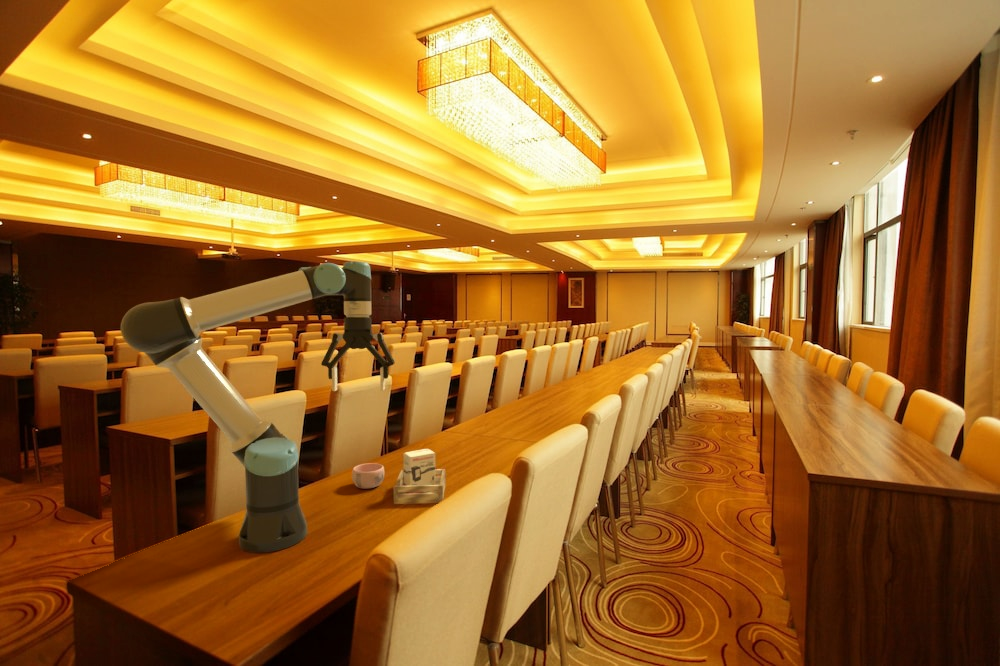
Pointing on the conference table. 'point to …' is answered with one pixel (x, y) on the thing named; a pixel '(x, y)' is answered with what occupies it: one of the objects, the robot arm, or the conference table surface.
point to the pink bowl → (368, 475)
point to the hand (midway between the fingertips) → (358, 390)
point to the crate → (420, 490)
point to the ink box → (419, 468)
